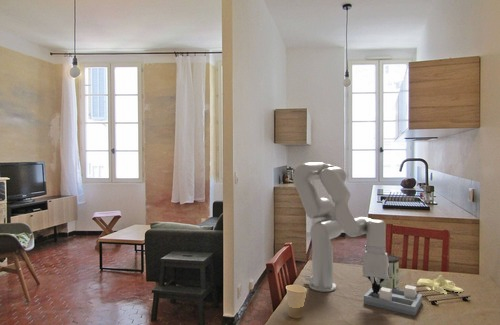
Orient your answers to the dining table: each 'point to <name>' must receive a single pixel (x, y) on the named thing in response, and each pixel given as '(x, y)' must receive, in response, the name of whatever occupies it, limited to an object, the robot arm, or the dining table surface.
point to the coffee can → (392, 273)
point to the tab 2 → (410, 291)
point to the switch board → (395, 301)
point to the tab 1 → (385, 294)
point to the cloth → (439, 285)
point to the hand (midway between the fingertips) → (376, 292)
